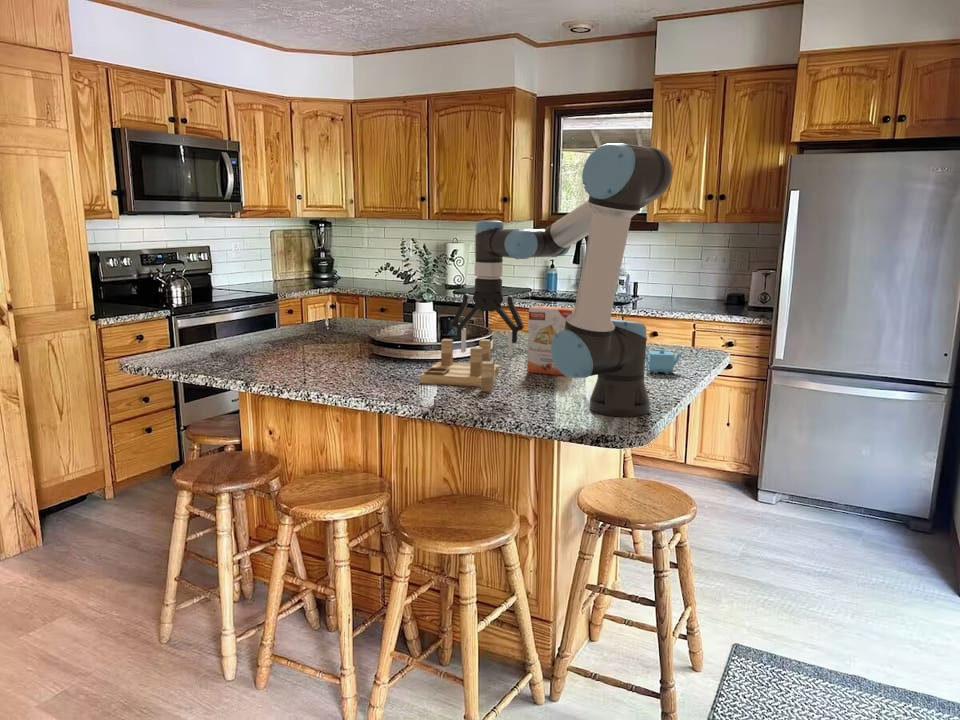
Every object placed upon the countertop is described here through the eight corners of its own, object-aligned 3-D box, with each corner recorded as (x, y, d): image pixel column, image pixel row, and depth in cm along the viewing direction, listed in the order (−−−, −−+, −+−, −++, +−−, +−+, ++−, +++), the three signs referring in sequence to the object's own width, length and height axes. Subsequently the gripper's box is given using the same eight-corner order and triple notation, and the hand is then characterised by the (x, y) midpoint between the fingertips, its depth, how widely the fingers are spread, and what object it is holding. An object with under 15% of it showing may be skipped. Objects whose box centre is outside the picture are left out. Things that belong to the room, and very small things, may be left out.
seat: (486, 386, 207) (487, 351, 205) (420, 383, 211) (420, 348, 209) (499, 372, 226) (499, 339, 224) (438, 369, 230) (438, 337, 228)
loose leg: (491, 391, 201) (492, 363, 200) (481, 390, 202) (481, 363, 200) (493, 389, 204) (494, 361, 202) (483, 388, 205) (483, 361, 203)
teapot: (682, 371, 229) (683, 348, 228) (683, 375, 224) (685, 352, 222) (643, 370, 232) (645, 347, 230) (644, 374, 226) (645, 350, 224)
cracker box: (526, 373, 226) (527, 307, 222) (532, 369, 231) (533, 305, 227) (569, 376, 221) (571, 309, 216) (574, 373, 226) (576, 307, 222)
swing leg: (483, 371, 213) (483, 345, 212) (473, 371, 214) (473, 344, 212) (490, 364, 224) (490, 339, 222) (481, 364, 224) (481, 339, 223)
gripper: (535, 277, 198) (532, 353, 202) (448, 274, 203) (447, 348, 207) (531, 280, 191) (529, 358, 195) (441, 277, 196) (440, 353, 200)
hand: (487, 353), depth 201 cm, fingers open, 13 cm apart
